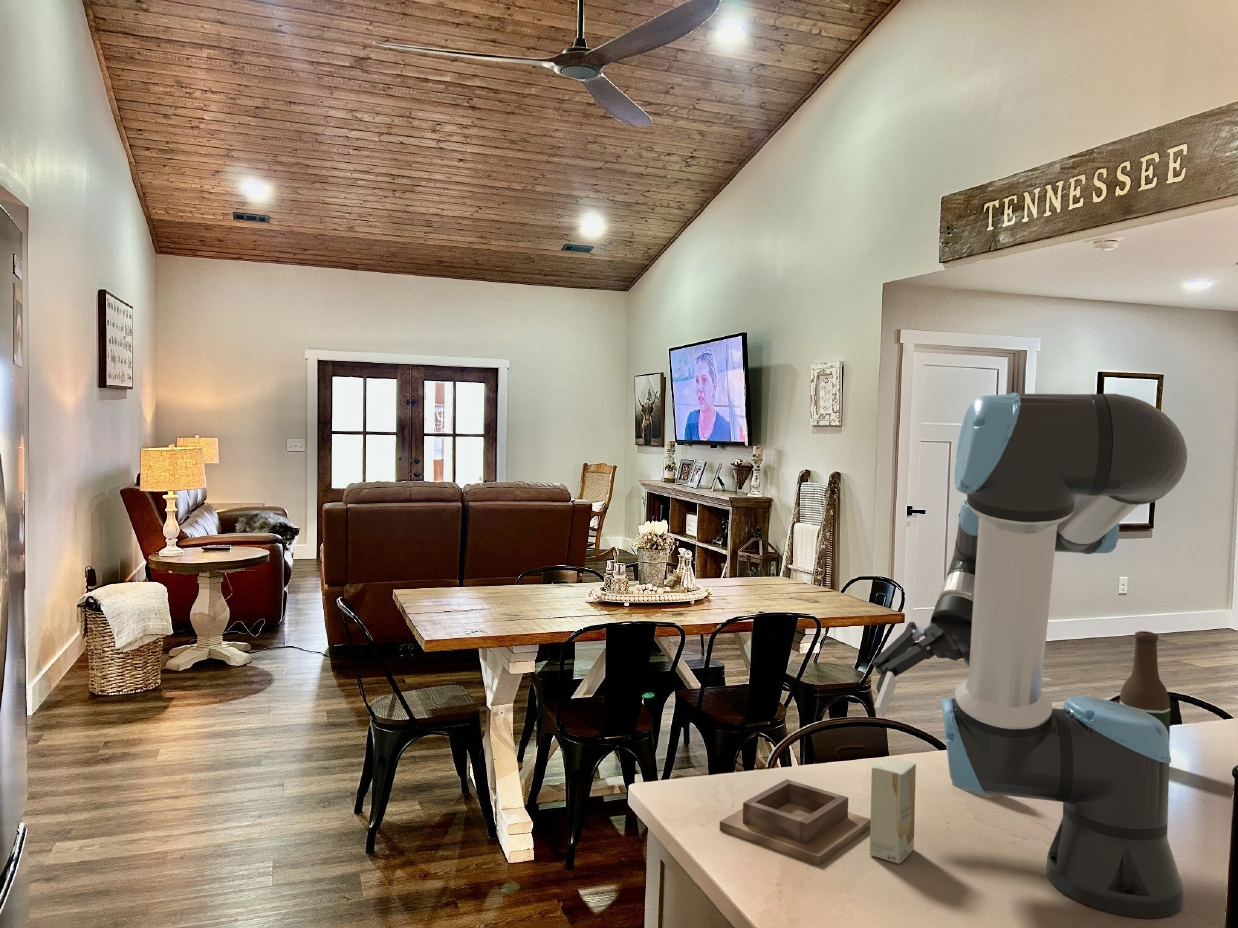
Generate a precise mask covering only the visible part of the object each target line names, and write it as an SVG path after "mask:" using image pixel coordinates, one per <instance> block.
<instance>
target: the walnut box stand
mask: <svg viewBox="0 0 1238 928" xmlns="http://www.w3.org/2000/svg"><path fill="white" fill-rule="evenodd" d="M870 823H871V818H868V817H864V816H861V815H858V814H855V813H852V812H849V796H844V795H841V794H838V793H835V792H831V791H827V790H825V789H823V788H818V787H815V786H812V785H808V784H804V783H801V782H797V781H794V780H791V779H787V778H786V779H784V780H782V781H780V782H779V783H777V784H775V785H773V786H771V787H769V788H768V789H766V790H764V791H762V792H760V793H758V794H757V795H754V796H753V797H751V798H749V799H747V800H745V801H743V802H742V808H741V809H740V810H738V811H736V812H734V813H732V814H730V815H728V816H726V817H724V818H723V819H721V820H720V821H719V830H721V831H723V832H726V833H729V834H731V835H734V836H737V837H740V838H741V839H746V840H748V841H750V842H754V843H757V845H758V844H760V845H762V846H763V847H767V848H770V849H772V850H775V851H778V852H781V853H783V854H787V855H789V856H791V857H795V858H797V859H800V860H803V861H805V862H808V863H811V864H815V865H817V866H820V865H821V864H823V863H824V862H826V861H827V860H829V859H830V858H831V857H833V856H834V855H835V854H837V853H838V852H839V851H840V850H842V849H843V848H845V847H846V846H847V845H849V844H851V842H853V841H854V840H856V839H857V838H858V837H860V836H861V835H863V834H864V833H865V832H867V831H868V830H869V829H870Z"/></svg>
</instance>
